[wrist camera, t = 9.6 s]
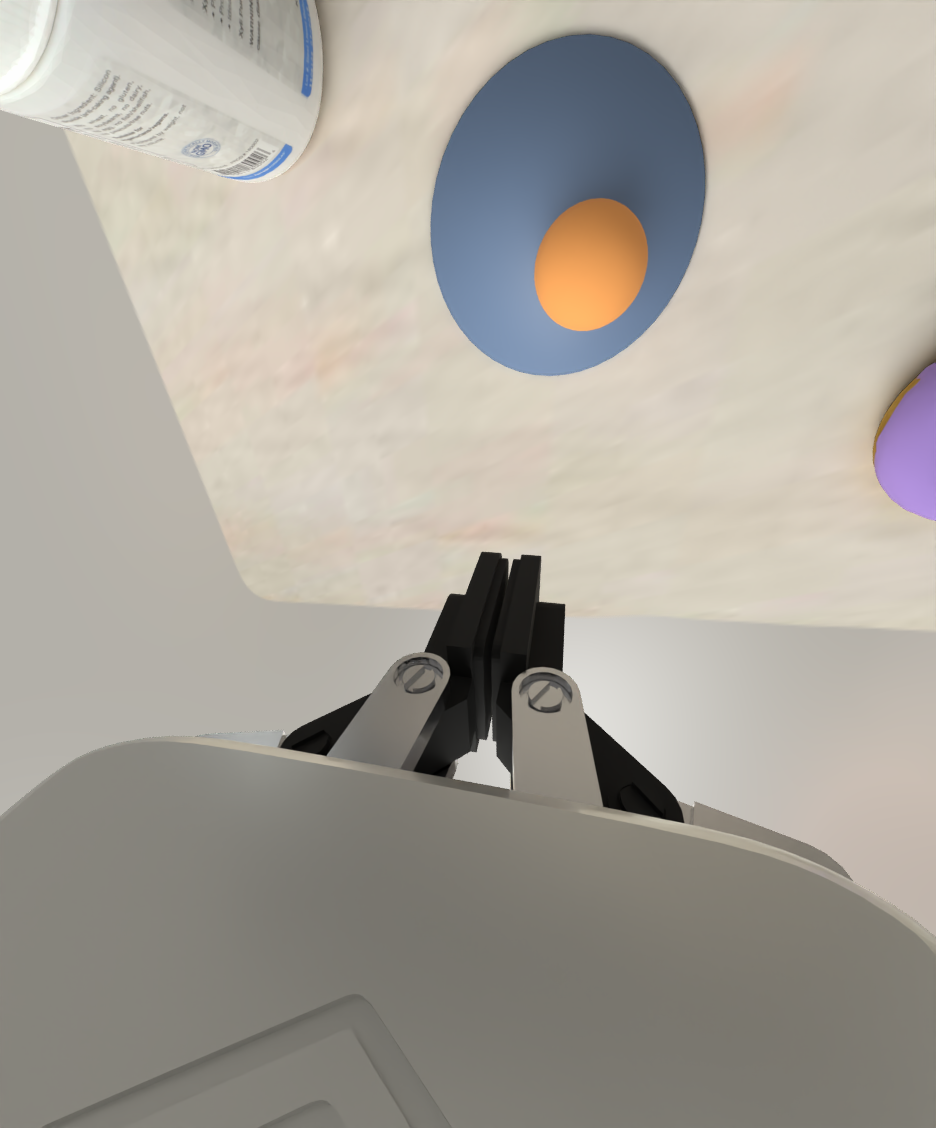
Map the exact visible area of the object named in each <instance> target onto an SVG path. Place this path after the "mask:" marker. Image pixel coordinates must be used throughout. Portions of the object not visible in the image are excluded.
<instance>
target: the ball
mask: <svg viewBox="0 0 936 1128" xmlns="http://www.w3.org/2000/svg"><path fill="white" fill-rule="evenodd" d="M647 263H648V245H647V239H646V235H645V232H644V229H643V227H642V225H641V223H640V221H639V220H638V218H637V217H636V215H635V214H634V213H633V212H632V211H631V210H630V209H629V208H628V207H626V206H625V205H623V204H621V203H619V202H617V201H615V200H611V199H605V198H596V199H589V200H585V201H582V202H579V203H577V204H576V205H574V206H572V207H570V208H568V209H567V210H566V211H565V212H563V213H562V214H561V215H560V216H559V217H558V218H557V219H556V220H555V221H554V222H553V224H552V225H551V226H550V228H549V229H548V231H547V232H546V234H545V235H544V237H543V240H542V242H541V244H540V246H539V249H538V253H537V256H536V261H535V270H534V281H535V288H536V293H537V296H538V299H539V301H540V304H541V306H542V307H543V309H544V310H545V312H546V313H547V315H548V316H549V317H550V318H551V319H552V320H553V321H554V322H556V323H557V324H559V325H561V326H563V327H565V328H567V329H571V330H575V331H590V330H594V329H598V328H601V327H603V326H605V325H608V324H609V323H611V322H613V321H614V320H615V319H617V318H618V317H619V316H620V315H622V314H623V313H624V312H625V311H626V310H627V308H628V307H629V306H630V305H631V303H632V302H633V301H634V299H635V298H636V296H637V294H638V292H639V290H640V288H641V286H642V283H643V281H644V277H645V274H646V269H647Z"/></svg>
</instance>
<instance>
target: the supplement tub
mask: <svg viewBox="0 0 936 1128" xmlns="http://www.w3.org/2000/svg"><path fill="white" fill-rule="evenodd" d="M322 83H323V51H322V39H321V31H320V25H319V19H318V14H317V9H316V5H315V1H314V0H0V110H3V111H6V112H9V113H12V114H16V115H19V116H22V117H26V118H29V119H33V120H36V121H39V122H42V123H46V124H49V125H52V126H56V127H59V128H62V129H66V130H69V131H72V132H76V133H79V134H82V135H86V136H89V137H92V138H95V139H99V140H102V141H105V142H109V143H112V144H115V145H118V146H122V147H125V148H129V149H132V150H135V151H139V152H142V153H145V154H148V155H152V156H155V157H159V158H162V159H166V160H169V161H172V162H175V163H179V164H182V165H185V166H189V167H192V168H195V169H199V170H202V171H205V172H209V173H212V174H215V175H219V176H222V177H226V178H229V179H232V180H236V181H241V182H247V183H258V182H264V181H267V180H270V179H273V178H275V177H277V176H279V175H281V174H282V173H284V172H285V171H287V170H288V169H289V168H290V167H291V166H292V165H293V164H294V163H295V162H296V161H297V160H298V159H299V157H300V156H301V155H302V153H303V151H304V150H305V148H306V146H307V144H308V142H309V141H310V139H311V136H312V133H313V131H314V128H315V125H316V122H317V118H318V115H319V109H320V103H321V95H322Z"/></svg>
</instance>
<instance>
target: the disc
mask: <svg viewBox="0 0 936 1128" xmlns="http://www.w3.org/2000/svg"><path fill="white" fill-rule="evenodd" d="M596 198H605V199H611V200H615V201H617V202H619V203H621V204H623V205H625V206H626V207H628V208H629V209H630V210H631V211H632V212H633V213H634V214H635V215H636V217H637V218H638V220H639V221H640V223H641V225H642V227H643V229H644V232H645V235H646V239H647V245H648V263H647V269H646V274H645V277H644V281H643V283H642V286H641V288H640V290H639V292H638V294H637V296H636V298H635V299H634V301H633V302H632V303H631V305H630V306H629V307H628V308H627V310H626V311H625V312H624V313H623V314H622V315H620V316H619V317H618V318H617V319H615V320H614V321H613V322H611V323H609V324H608V325H605V326H603V327H601V328H598V329H594V330H590V331H575V330H571V329H567V328H565V327H563V326H561V325H559V324H557V323H556V322H554V321H553V320H552V319H551V318H550V317H549V316H548V315H547V313H546V312H545V310H544V309H543V307H542V306H541V304H540V301H539V299H538V296H537V293H536V288H535V281H534V270H535V261H536V256H537V253H538V249H539V246H540V244H541V242H542V240H543V237H544V235H545V234H546V232H547V231H548V229H549V228H550V226H551V225H552V224H553V222H554V221H555V220H556V219H557V218H558V217H559V216H560V215H561V214H562V213H563V212H565V211H566V210H567V209H568V208H570V207H572V206H574V205H576V204H577V203H579V202H582V201H585V200H589V199H596ZM704 198H705V168H704V157H703V149H702V144H701V140H700V135H699V131H698V127H697V124H696V121H695V119H694V116H693V113H692V111H691V108H690V106H689V104H688V102H687V100H686V98H685V96H684V95H683V93H682V91H681V89H680V88H679V86H678V84H677V83H676V82H675V81H674V79H673V78H672V77H671V76H670V74H669V73H668V72H667V71H666V69H665V68H664V67H663V66H662V65H660V64H659V63H658V62H657V61H656V60H655V59H653V58H652V57H651V56H650V55H649V54H647V53H646V52H644V51H642V50H641V49H639V48H637V47H635V46H634V45H632V44H630V43H627V42H624V41H621V40H618V39H615V38H612V37H608V36H600V35H592V34H586V35H572V36H566V37H562V38H558V39H554V40H550V41H547V42H545V43H543V44H540V45H538V46H536V47H534V48H532V49H529V50H527V51H526V52H524V53H523V54H521V55H520V56H518V57H517V58H515V59H514V60H512V61H511V62H509V63H508V64H507V65H505V66H504V67H503V68H502V69H501V70H500V71H499V72H497V73H496V74H495V75H494V76H493V77H492V78H491V79H490V80H489V81H488V82H487V83H486V84H485V86H484V87H483V88H482V89H481V90H480V91H479V92H478V94H477V95H476V96H475V97H474V99H473V100H472V102H471V103H470V105H469V106H468V108H467V109H466V111H465V112H464V113H463V115H462V117H461V119H460V120H459V122H458V124H457V126H456V128H455V130H454V132H453V134H452V135H451V138H450V140H449V143H448V145H447V148H446V150H445V153H444V155H443V158H442V161H441V165H440V168H439V172H438V175H437V179H436V184H435V190H434V195H433V201H432V213H431V246H432V255H433V263H434V267H435V271H436V276H437V280H438V283H439V286H440V289H441V292H442V295H443V298H444V300H445V302H446V304H447V307H448V309H449V311H450V313H451V315H452V316H453V318H454V319H455V321H456V323H457V324H458V326H459V327H460V329H461V330H462V331H463V332H464V334H465V335H466V336H467V337H468V339H469V340H470V341H471V342H472V343H473V344H474V345H475V346H476V347H477V348H478V349H480V350H481V351H482V352H483V353H484V354H486V355H487V356H489V357H490V358H491V359H493V360H494V361H496V362H498V363H500V364H502V365H504V366H506V367H508V368H511V369H514V370H517V371H519V372H523V373H528V374H533V375H546V376H553V375H565V374H570V373H575V372H579V371H583V370H585V369H588V368H591V367H594V366H596V365H598V364H600V363H602V362H604V361H606V360H608V359H610V358H612V357H613V356H615V355H616V354H618V353H619V352H621V351H622V350H624V349H625V348H627V347H628V346H629V345H630V344H632V343H633V342H634V341H635V340H636V339H637V338H639V337H640V336H641V335H642V334H643V333H644V332H645V331H646V330H647V329H648V328H649V327H650V325H651V324H652V323H653V322H654V321H655V320H656V319H657V317H658V316H659V315H660V313H661V312H662V311H663V309H664V308H665V307H666V306H667V304H668V302H669V301H670V299H671V298H672V296H673V294H674V293H675V291H676V289H677V288H678V286H679V284H680V282H681V280H682V278H683V276H684V274H685V271H686V269H687V267H688V265H689V262H690V259H691V256H692V254H693V251H694V248H695V245H696V242H697V237H698V233H699V229H700V225H701V221H702V213H703V206H704Z"/></svg>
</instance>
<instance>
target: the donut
mask: <svg viewBox="0 0 936 1128" xmlns="http://www.w3.org/2000/svg"><path fill="white" fill-rule="evenodd" d="M873 464H874V467H875V472H876V476H877V478H878V481H879V483H880V485H881V486H882V488H883V489H884V490H885V492H886V493H887V494H888V496H889V497H890V498H891V499H892V500H893V501H894V502H896V503H897V504H898V505H900V506H901V507H902V508H903V509H905V510H907V511H910V512H912V513H915V514H917V515H919V516H922V517H924V518H927V519H931V520H935V521H936V363H933V364H931V365H929V366H928V367H926V368H925V369H924V370H923V371H922V372H921V373H920V374H919V375H918V376H917V377H916V378H915V379H914V380H913V381H912V382H911V383H910V384H909V385H908V386H907V387H906V388H905V389H904V390H903V391H902V392H901V393H900V394H899V395H898V397H897V398H896V399H895V401H894V402H893V403H892V405H891V406H890V407H889V409H888V410H887V412H886V414H885V415H884V417H883V419H882V421H881V423H880V426H879V428H878V431H877V434H876V436H875V441H874V446H873Z"/></svg>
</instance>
